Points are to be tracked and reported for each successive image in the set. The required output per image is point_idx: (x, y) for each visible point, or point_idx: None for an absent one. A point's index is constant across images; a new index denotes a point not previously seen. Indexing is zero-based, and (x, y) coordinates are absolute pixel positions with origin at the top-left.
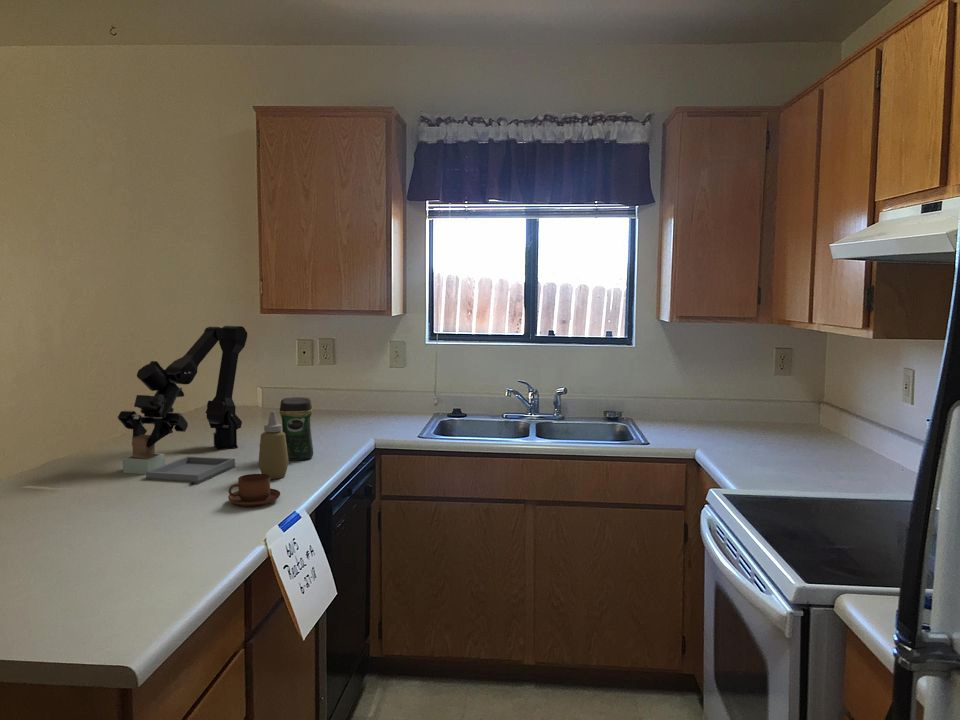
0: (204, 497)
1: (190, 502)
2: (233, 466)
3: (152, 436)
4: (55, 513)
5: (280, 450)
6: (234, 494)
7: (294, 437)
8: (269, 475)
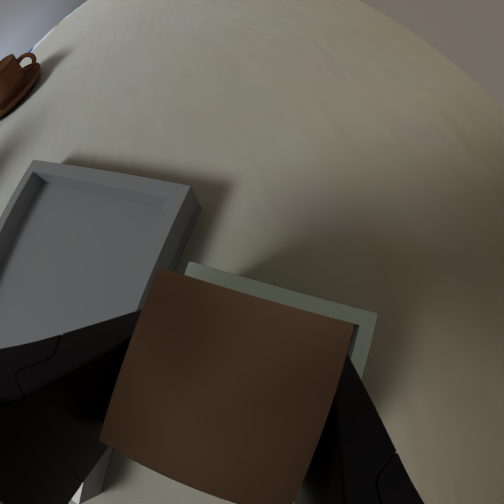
0: (61, 94)
1: (88, 69)
2: None
3: (90, 330)
4: (323, 15)
5: None
6: (30, 65)
7: None
8: None
